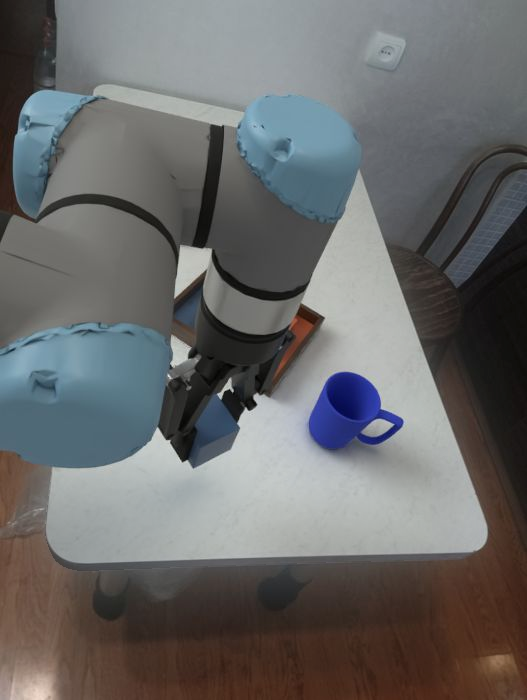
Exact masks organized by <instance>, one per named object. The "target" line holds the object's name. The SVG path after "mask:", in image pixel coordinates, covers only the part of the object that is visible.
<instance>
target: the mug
mask: <svg viewBox="0 0 527 700" xmlns="http://www.w3.org/2000/svg"><path fill="white" fill-rule="evenodd" d="M381 407H382V400H381V396H380V394H379V392H378V389H377V388H376V387H375V385H374V384H373V383H372V382H371V381H370V380H368V379H367V378H366V377H364V376H362V375H361V374H358V373H355V372H352V371H339V372H336V373H334V374H332V375H331V376H329V377H328V378H327V379H326V380H325V383H324V385H323V387H322V390H321V391H320V393H319V396H318V397H317V400H316V402H315V404H314V407H313V409H312V411H311V413H310V415H309V418H308V431H309V434H310V436H311V437H312V439H313V440H314V441H315V442H316V444H318V445H319V446H321V447H322V448H325V449H329V450H339V449H342V448H345V447H346V446H347V445H349V444H351V442H353V440H354V439H357V440H358V442H360V443H362V444H365V445H367V446H377V445H380V444H383V443H385V442H386V441H387V440H389V439H391V438H392V437H393V436H394V435H395V434H396V433H398V432H399V431H400V430H401V429H402V428H403V426H404V419H403V418H402V417H401V416H399V415H397V414H395V413H393V412H391V411H389V410H386V409H382V408H381ZM376 420H384V421H386V422H388V423H390V424H392V426H391V427H390V428H389V429H388V430H386V431H385V432H383V433H382V434H380V435H377V436H369V435H366V434H364V433H362V432H363V431H364V430H365V429H366V428H367V427H368V426H369V425H370V424H372V422H374V421H376Z"/></svg>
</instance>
